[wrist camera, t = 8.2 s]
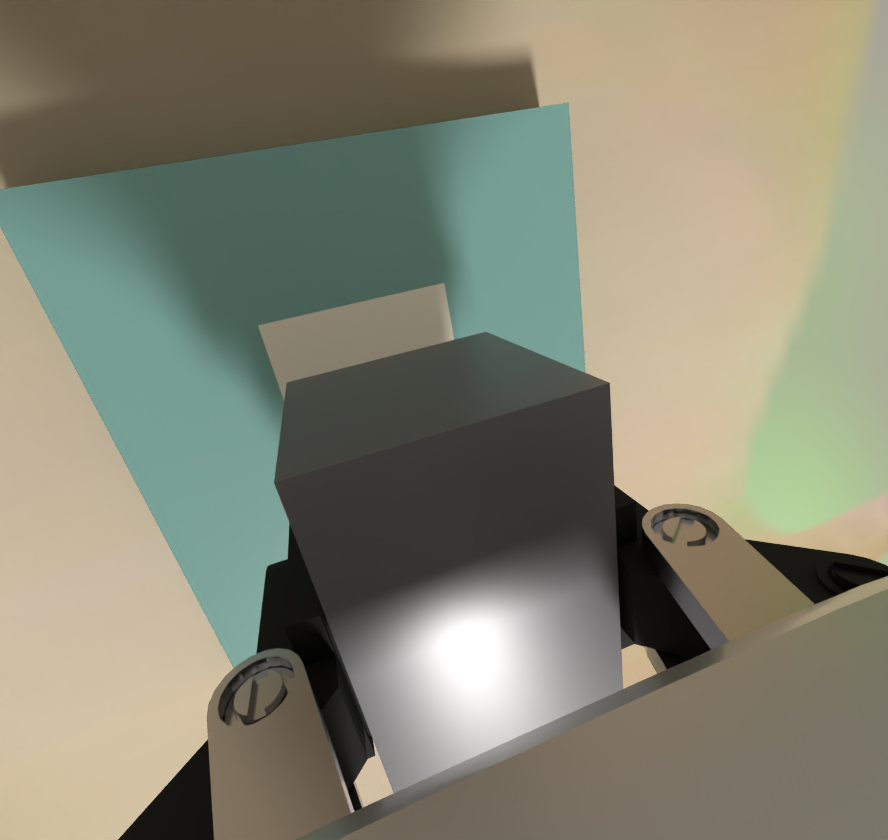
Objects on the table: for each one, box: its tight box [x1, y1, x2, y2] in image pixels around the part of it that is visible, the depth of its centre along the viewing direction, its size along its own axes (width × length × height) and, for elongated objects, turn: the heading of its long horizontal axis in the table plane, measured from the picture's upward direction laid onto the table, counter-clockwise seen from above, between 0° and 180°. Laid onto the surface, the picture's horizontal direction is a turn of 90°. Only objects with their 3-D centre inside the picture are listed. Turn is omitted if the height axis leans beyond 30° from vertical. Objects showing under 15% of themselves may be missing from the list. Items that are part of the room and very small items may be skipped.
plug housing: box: [274, 332, 623, 793], centre depth 9 cm, size 4×8×4 cm, turn 11°
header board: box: [0, 103, 585, 668], centre depth 14 cm, size 14×17×4 cm
